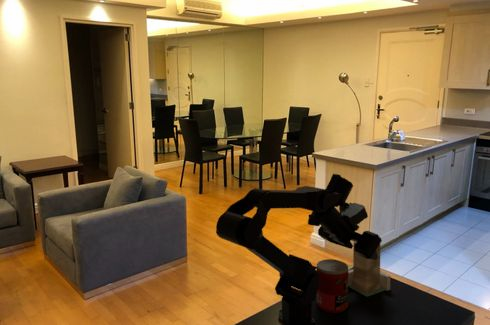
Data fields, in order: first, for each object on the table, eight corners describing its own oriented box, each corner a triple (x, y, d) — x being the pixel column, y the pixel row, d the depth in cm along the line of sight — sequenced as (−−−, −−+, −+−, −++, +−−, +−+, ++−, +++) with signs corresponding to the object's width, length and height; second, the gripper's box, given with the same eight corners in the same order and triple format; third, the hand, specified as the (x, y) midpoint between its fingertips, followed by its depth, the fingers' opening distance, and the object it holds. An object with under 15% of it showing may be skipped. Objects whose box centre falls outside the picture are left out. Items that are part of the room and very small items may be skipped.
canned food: (340, 316, 98) (340, 274, 96) (311, 307, 103) (310, 267, 101) (353, 303, 104) (353, 263, 102) (324, 295, 109) (324, 256, 107)
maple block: (366, 293, 108) (367, 247, 106) (353, 286, 113) (353, 242, 110) (379, 288, 111) (380, 243, 108) (366, 281, 115) (366, 238, 113)
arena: (355, 302, 104) (355, 287, 104) (333, 288, 112) (333, 275, 111) (390, 289, 110) (390, 275, 110) (366, 277, 118) (366, 264, 117)
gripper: (376, 203, 96) (407, 238, 103) (326, 189, 112) (355, 220, 119) (351, 241, 93) (384, 274, 100) (303, 221, 110) (334, 250, 117)
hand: (363, 252), depth 109 cm, fingers open, 9 cm apart
